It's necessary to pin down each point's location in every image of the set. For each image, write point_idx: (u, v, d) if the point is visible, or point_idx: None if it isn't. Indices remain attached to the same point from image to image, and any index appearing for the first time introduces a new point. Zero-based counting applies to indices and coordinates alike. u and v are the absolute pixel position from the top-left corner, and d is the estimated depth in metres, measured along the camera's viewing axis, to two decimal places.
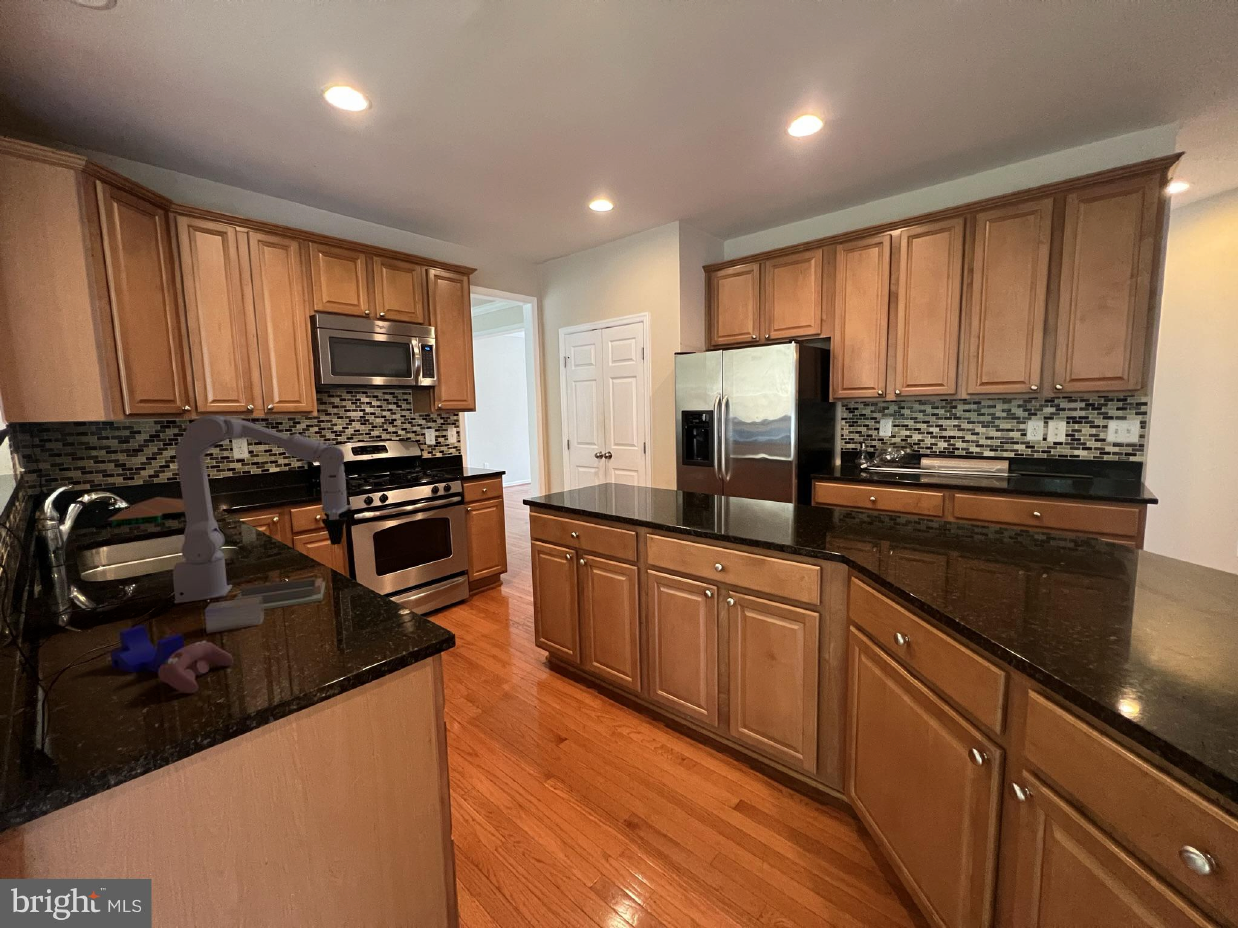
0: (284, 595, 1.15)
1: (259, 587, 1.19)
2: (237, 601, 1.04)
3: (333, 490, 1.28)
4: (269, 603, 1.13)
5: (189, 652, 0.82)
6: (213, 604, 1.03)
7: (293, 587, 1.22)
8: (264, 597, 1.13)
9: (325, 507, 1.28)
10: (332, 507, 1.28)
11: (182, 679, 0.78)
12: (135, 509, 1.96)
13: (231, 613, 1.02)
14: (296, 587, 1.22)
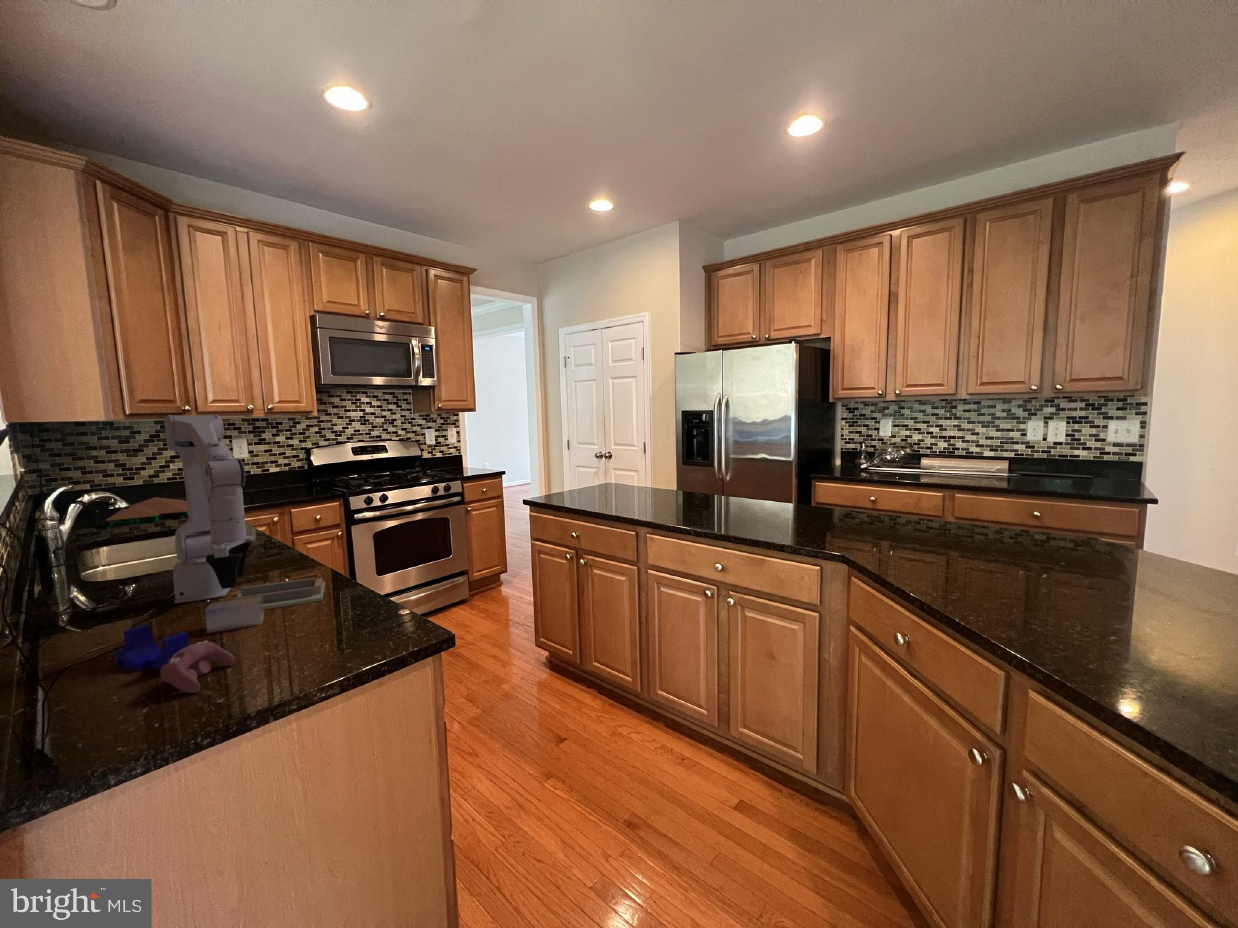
0: (284, 595, 1.15)
1: (259, 587, 1.19)
2: (237, 601, 1.04)
3: (209, 518, 0.99)
4: (269, 603, 1.13)
5: (191, 652, 0.82)
6: (213, 604, 1.03)
7: (293, 587, 1.22)
8: (264, 597, 1.13)
9: (214, 540, 0.99)
10: (223, 540, 0.99)
11: (184, 679, 0.79)
12: (133, 509, 1.95)
13: (231, 613, 1.02)
14: (296, 587, 1.22)
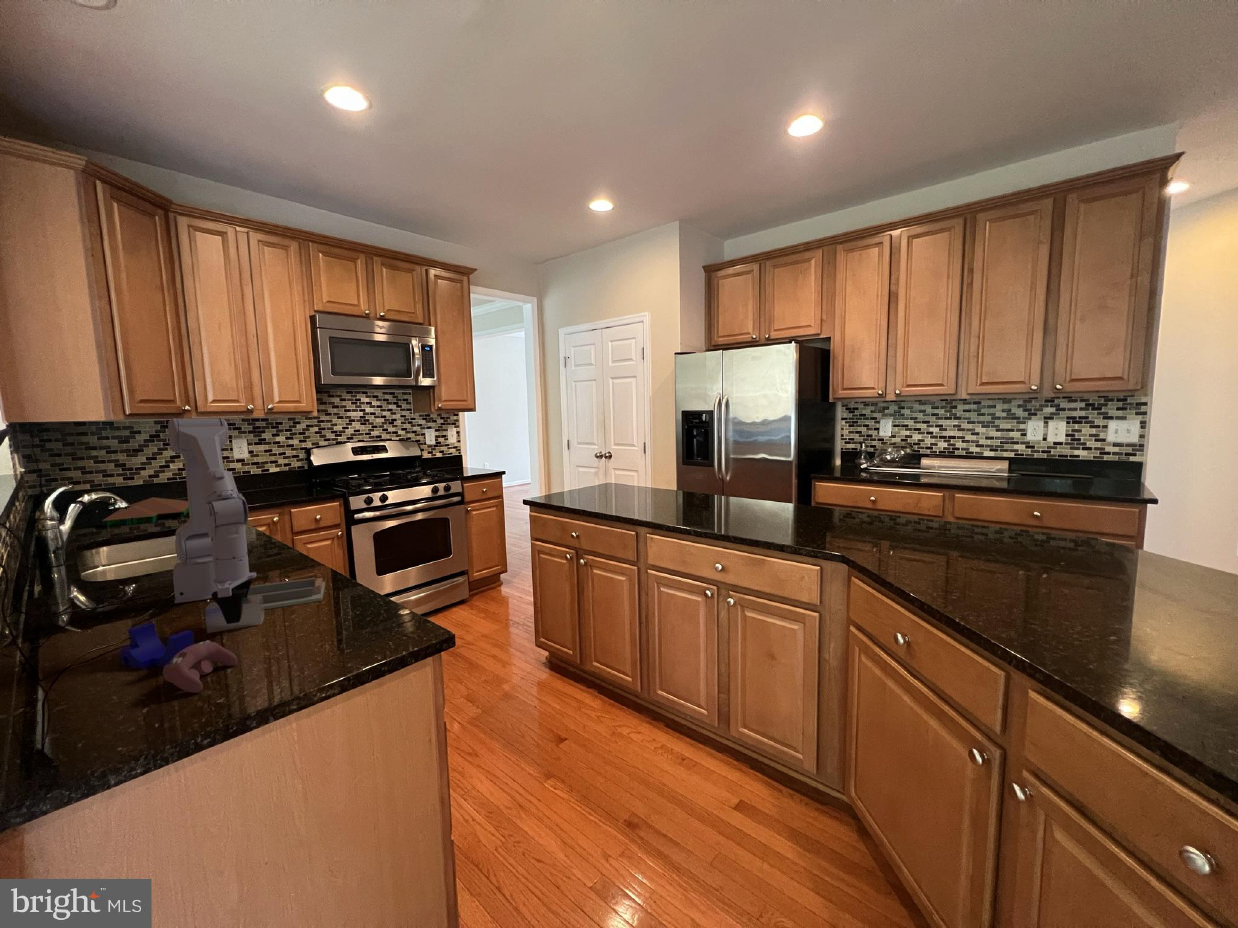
0: (284, 595, 1.15)
1: (259, 587, 1.19)
2: None
3: (212, 556, 1.00)
4: (269, 603, 1.13)
5: (193, 651, 0.82)
6: (213, 603, 1.03)
7: (293, 587, 1.22)
8: (264, 597, 1.13)
9: (217, 578, 1.00)
10: (226, 578, 1.00)
11: (187, 679, 0.79)
12: (130, 509, 1.95)
13: None
14: (296, 587, 1.22)
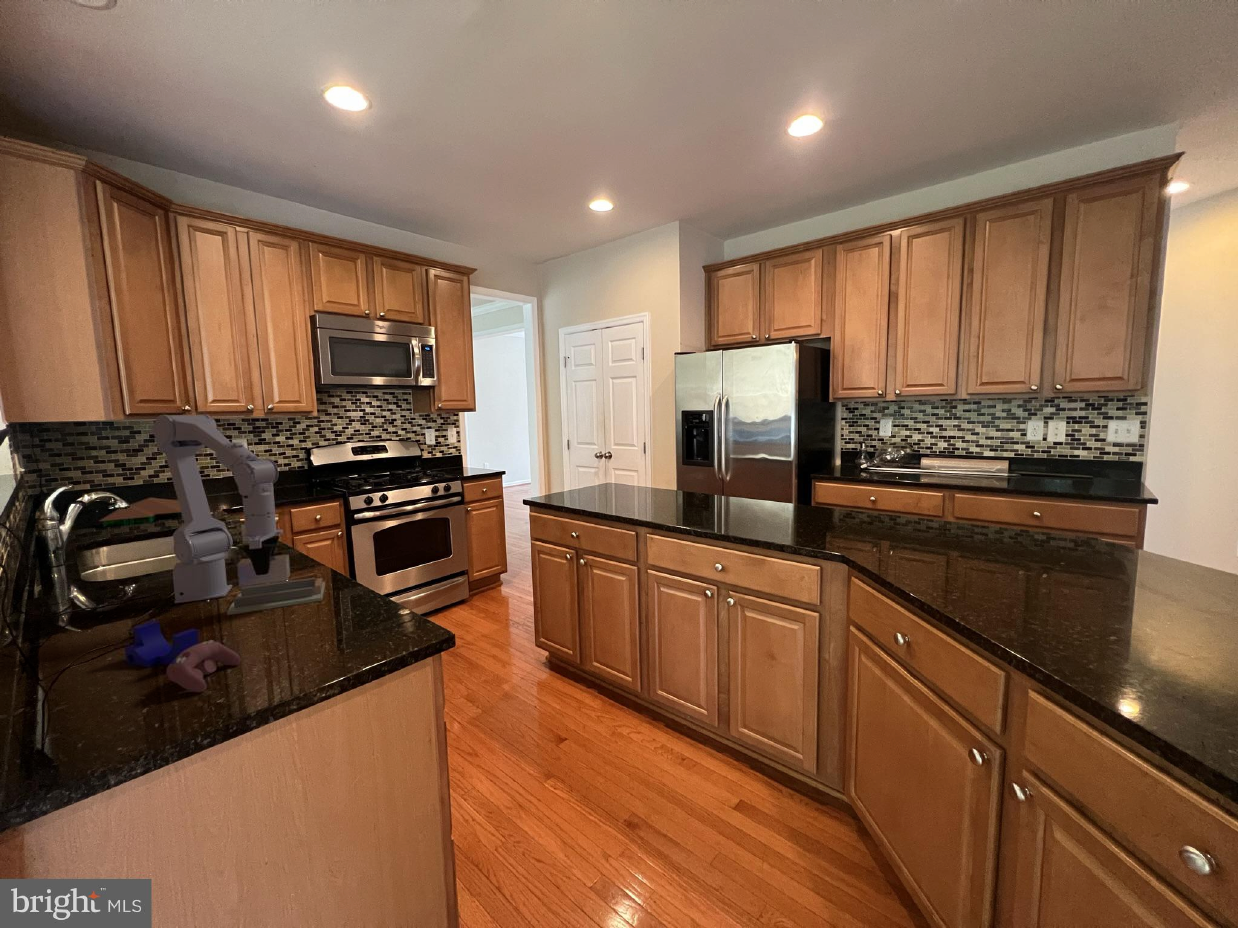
0: (284, 595, 1.15)
1: (259, 587, 1.19)
2: None
3: (246, 513, 1.08)
4: (269, 603, 1.13)
5: (197, 651, 0.82)
6: (244, 560, 1.12)
7: (293, 587, 1.22)
8: (264, 597, 1.13)
9: (248, 533, 1.09)
10: (256, 533, 1.09)
11: (191, 678, 0.79)
12: (127, 510, 1.94)
13: None
14: (296, 587, 1.22)
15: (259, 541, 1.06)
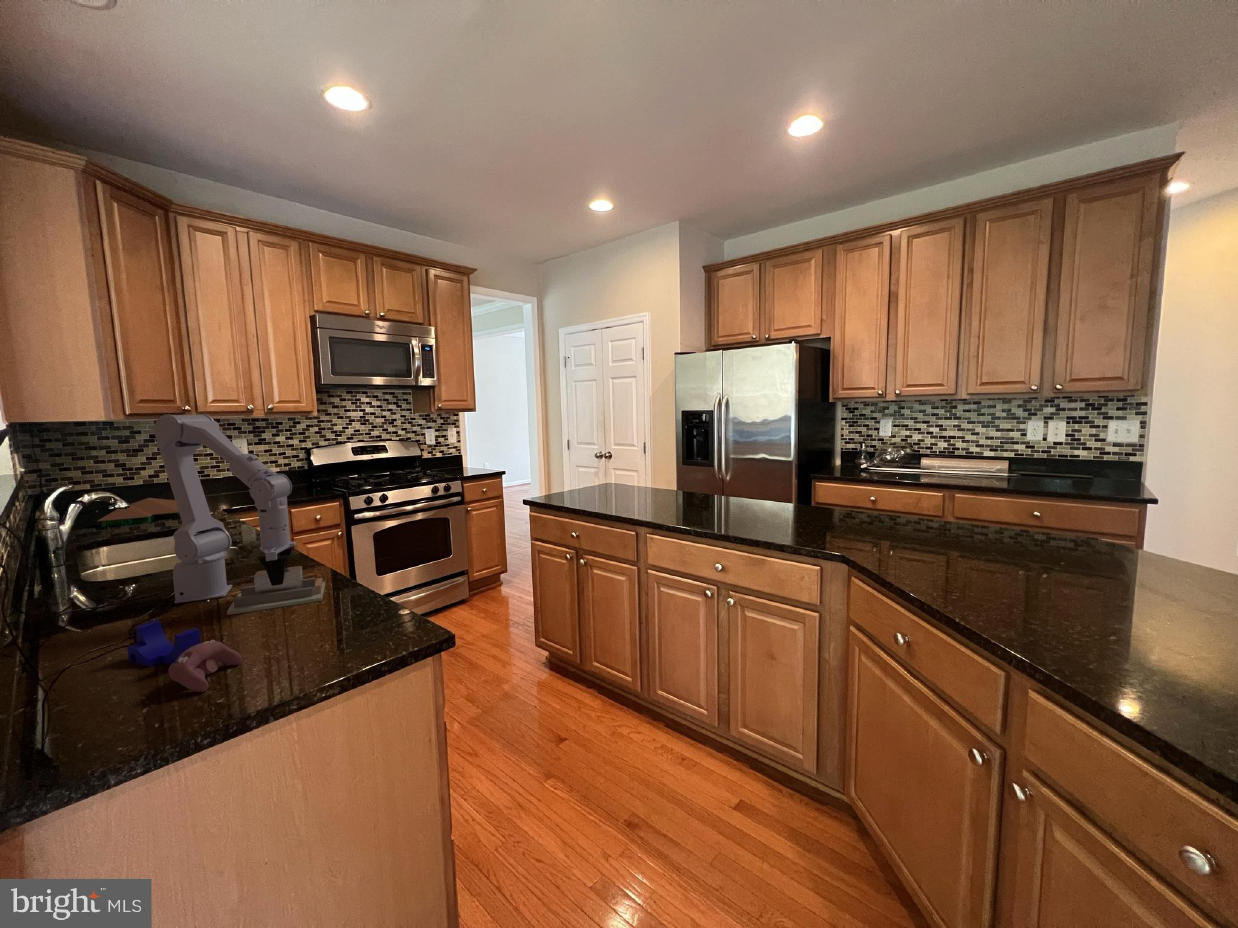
0: (284, 595, 1.15)
1: None
2: None
3: (264, 526, 1.13)
4: (269, 603, 1.13)
5: (199, 651, 0.82)
6: (260, 572, 1.17)
7: None
8: (264, 597, 1.13)
9: (263, 545, 1.14)
10: (271, 545, 1.14)
11: (193, 678, 0.79)
12: (125, 510, 1.94)
13: None
14: None
15: (275, 553, 1.11)
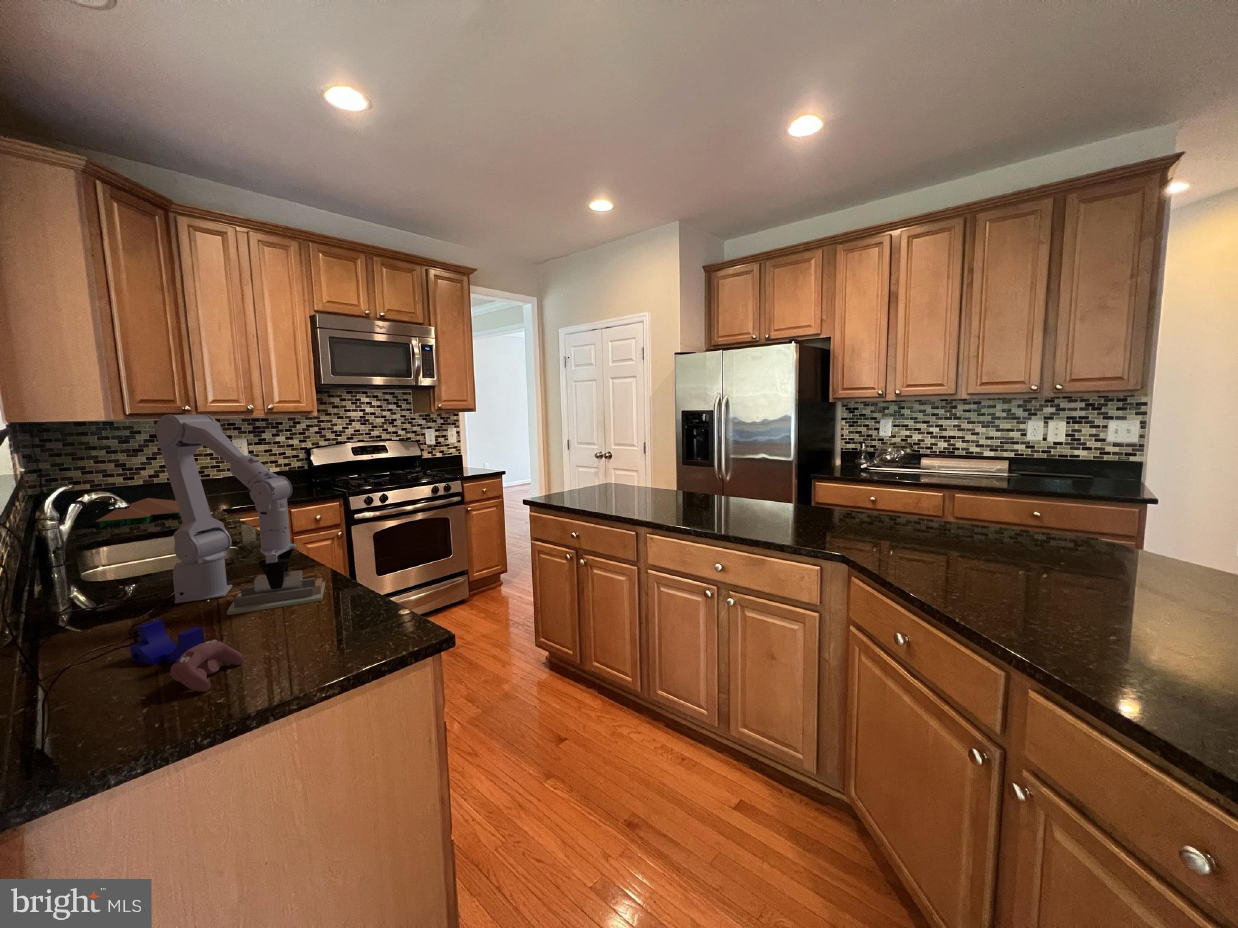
0: (284, 595, 1.15)
1: None
2: None
3: (264, 529, 1.13)
4: (269, 603, 1.13)
5: (201, 651, 0.82)
6: (260, 576, 1.17)
7: None
8: (264, 597, 1.13)
9: (263, 547, 1.14)
10: (271, 547, 1.14)
11: (195, 678, 0.79)
12: (124, 510, 1.93)
13: None
14: None
15: (275, 555, 1.11)
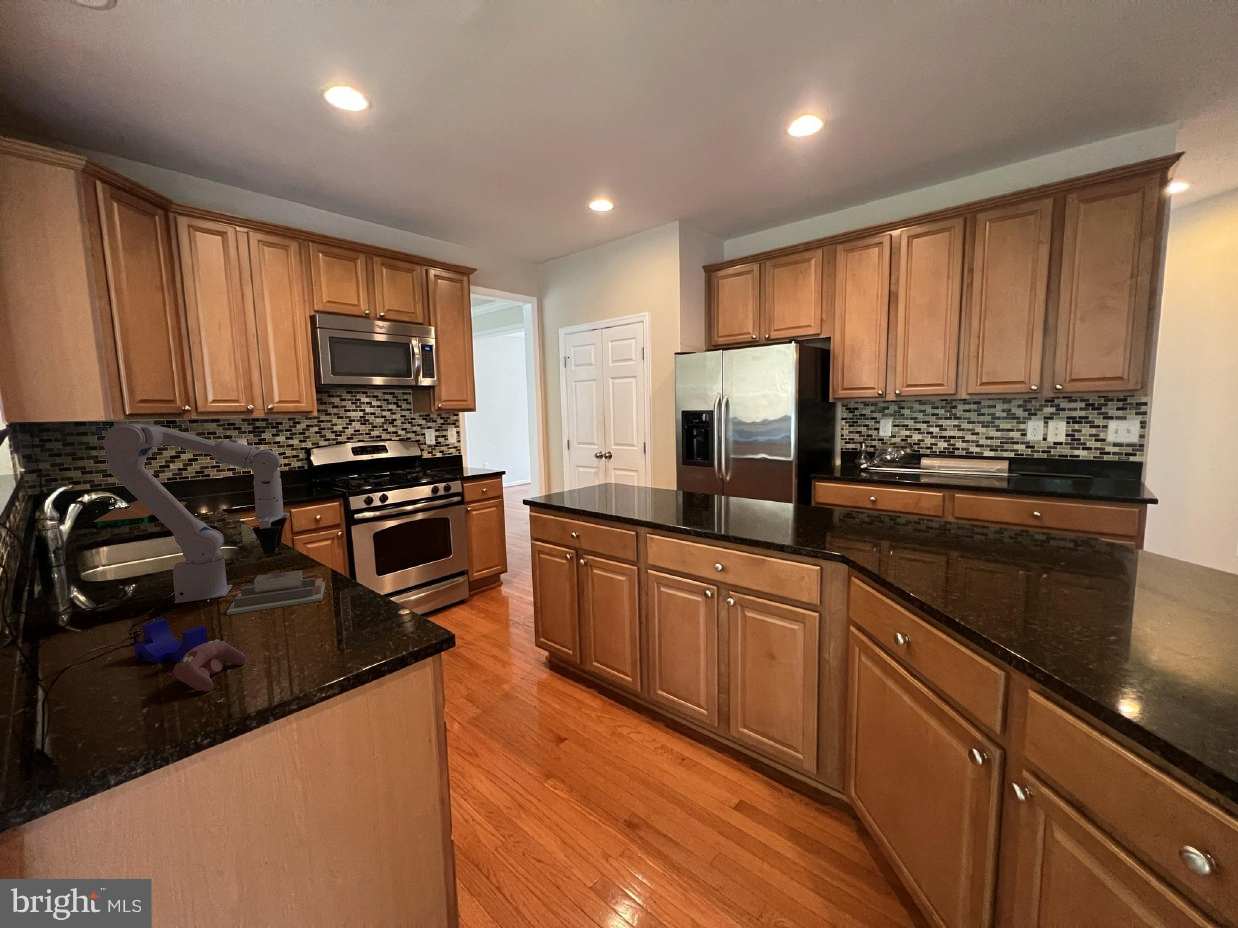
0: (284, 595, 1.15)
1: None
2: (280, 574, 1.18)
3: (267, 497, 1.22)
4: (269, 603, 1.13)
5: (204, 650, 0.82)
6: (260, 576, 1.17)
7: None
8: (264, 597, 1.13)
9: (258, 515, 1.22)
10: (265, 515, 1.22)
11: (198, 677, 0.79)
12: (121, 510, 1.93)
13: (276, 584, 1.16)
14: None
15: (268, 522, 1.19)
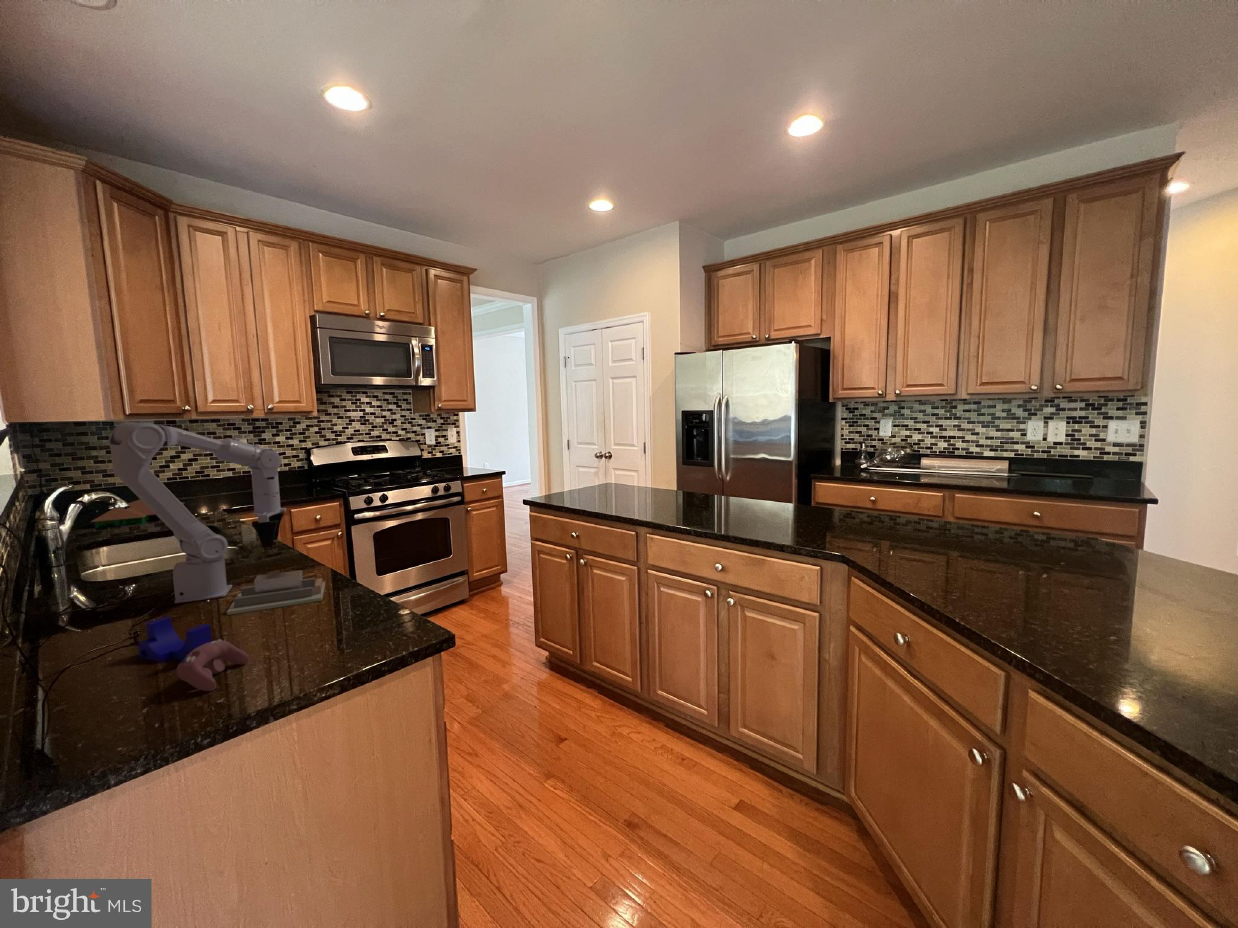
0: (284, 595, 1.15)
1: None
2: (280, 574, 1.18)
3: (272, 492, 1.29)
4: (269, 603, 1.13)
5: (206, 650, 0.82)
6: (260, 576, 1.17)
7: None
8: (264, 597, 1.13)
9: (256, 510, 1.28)
10: (263, 510, 1.28)
11: (201, 677, 0.79)
12: (119, 511, 1.93)
13: (276, 584, 1.16)
14: None
15: (266, 516, 1.25)
